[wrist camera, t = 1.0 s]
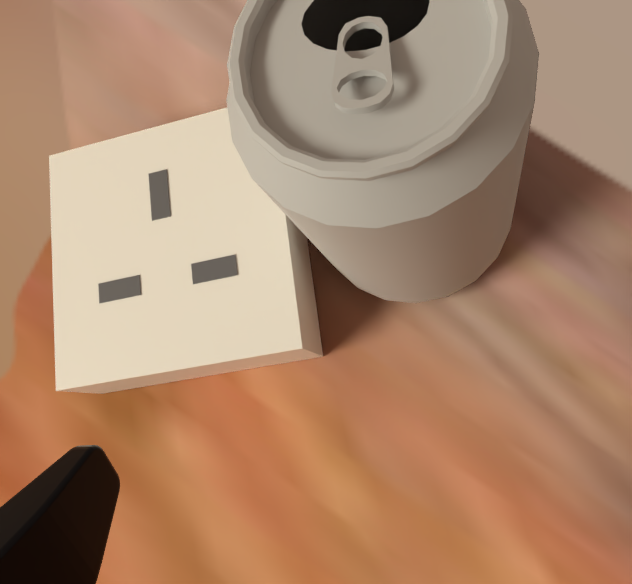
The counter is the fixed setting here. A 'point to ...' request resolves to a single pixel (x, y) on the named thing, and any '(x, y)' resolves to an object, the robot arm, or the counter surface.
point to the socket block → (172, 262)
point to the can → (388, 131)
